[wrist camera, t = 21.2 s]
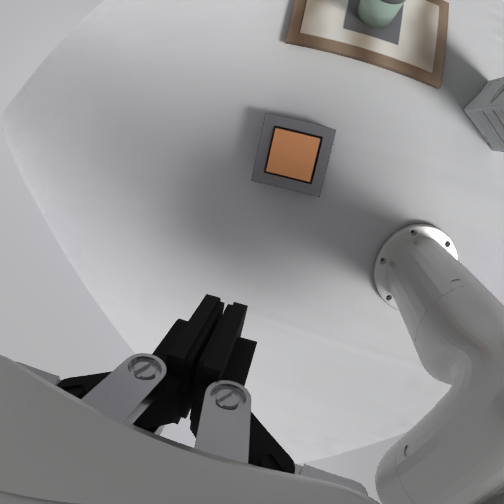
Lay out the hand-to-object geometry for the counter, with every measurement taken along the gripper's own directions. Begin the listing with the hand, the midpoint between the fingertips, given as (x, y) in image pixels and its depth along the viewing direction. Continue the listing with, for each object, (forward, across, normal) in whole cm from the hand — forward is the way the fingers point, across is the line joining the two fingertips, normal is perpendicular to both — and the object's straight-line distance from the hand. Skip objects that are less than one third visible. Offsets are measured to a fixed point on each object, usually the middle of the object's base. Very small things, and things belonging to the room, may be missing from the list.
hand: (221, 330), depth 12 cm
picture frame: (+29, -6, -27) cm, 40 cm away
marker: (+28, -6, -27) cm, 39 cm away
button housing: (+29, 0, -6) cm, 30 cm away
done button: (+28, 0, -6) cm, 28 cm away
